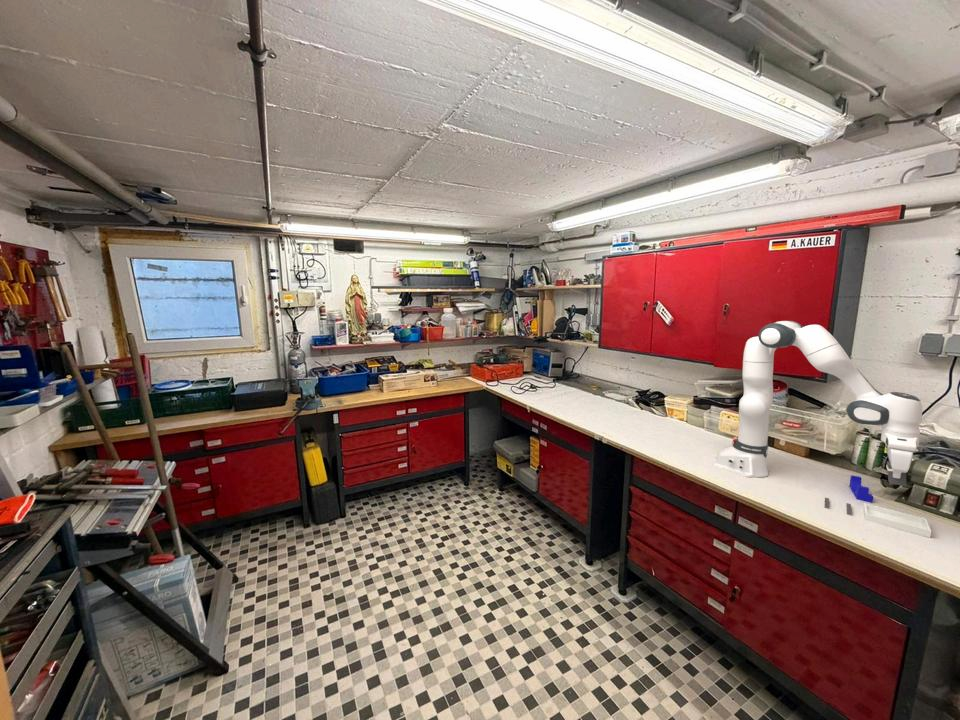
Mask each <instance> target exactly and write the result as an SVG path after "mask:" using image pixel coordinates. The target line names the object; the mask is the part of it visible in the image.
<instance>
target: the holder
mask: <svg viewBox="0 0 960 720" xmlns="http://www.w3.org/2000/svg"><path fill="white" fill-rule="evenodd" d="M824 508H825V509H827V510H829V509H830V498H829V497H824ZM845 510H846V515H847V516H852V512H853V511H852V505H851V503H848V502H847V503H846V505H845Z"/></svg>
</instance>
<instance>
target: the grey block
mask: <svg viewBox="0 0 960 720" xmlns="http://www.w3.org/2000/svg"><path fill="white" fill-rule="evenodd" d="M885 466H886V467H885V468H886V469H887V470H886V471H887V480H888V482H889V483H888V484H889V485H898V486H908V485H907V475H906V473H907V472H902V473H901V477H900V478H899V479H898V478H894V477H893V476H892V474H893V470H892V467H891V464H890V460H889V461H886V465H885Z"/></svg>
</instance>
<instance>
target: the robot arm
mask: <svg viewBox="0 0 960 720" xmlns="http://www.w3.org/2000/svg"><path fill="white" fill-rule="evenodd" d="M790 346H794V347H797V348H798V349H799V350H800V351H801V352H802V354H803V355H804V357H805V358H806V359H807V361H808V362H809V363H810V364H811V366H813V367H814V368H815V369H816V370H817V371H819V372H822V373H826V374H829V375H832V376H834V377H836V378H838V379H839V380H840V381H841V382H842V383H843V384H844V385H845V386H846V388H848V390H849V391H850V392H851V393H852V395H853V396H854V398H855V400H853V401H851V402H849V404H848V405H847V406H846V410H845V411H846V414H847V416H848V418H849V419H850V420H851V421H853V422H854V423H857V424H861V425H869V426H871V425H872V426H882V427H881V433H880V434H881V435H880V441H882V442H883V443H884V444H885V446H886V449H887V450H886V454H887V457H888V460H889V462H890V464H891V467H892V470H893V474H892V476H893V477H894V478H898V479H899V478H900V477H901V473H902V472H906V473H908V471H909V470H910V469H911V468H910V467H911V464H912V460H913V456H914V452H917V448H918V447H919V442H920V436H921V431H920V425H921V422H922V417H923V405H922V404H923V403H922V401H921V400H920V398H919V397H917V396H915V395H912V394H909V393H906V392H900V391H899V392H898V391H891V392H888V393H886V394H885V393H884V394H883V393H881V392H880V391H879V390H877V389H876V388H875V387H874V386H873V385H872V383H870V382H869V380H868V379H867V378H866V377H865V376H864V375H863V373H862V372H861V371H860V370H859V369H858V367H857V366H856V365H855V364H854V362H853V360H851V359H850V357H849V356H848V354H847V353H846V351H845V350H844V347H842V345H841V344H840V343H839V341H837V339H836V338H835V337H834V336H833V335H832V334H831V333H830V332H829V331H828V330H827V329H826V328H825V327H824V326H822V325H820V324H809V325H805V326H802V325H801V324H800V323H799V322H796V321H793V320H781V321H780V320H779V321H776V322H772V323H768V324H767V325H765V326H763V327H761V329H760V330H759V331H758V335H757V336H753V337H750V338H749V339H747V341H746V342H745V345H744V349H743V356H742V358H743V359H742V374H741V375H742V377H741V378H742V383H743V396H742V397H741V398H740V399H739V403H738V423H739V424H738V425H739V426H738V434H737V436H738V437H737V436H734V437H733V438H732V443H731V444H732V445H731V446H728V447H724V448H722V449H721V450H719V452H718V454H717V456H715V457H713V458H712V459H711V462H710V463H711V465H712V466H713V467H716V468H720V469H722V470H724V471H728V472H729V473H732V474H735V475H739V476H742V477H744V478H764V477H765V478H766V477H768V476H769V469H768V463H767V457H768V455H769V444H768V439H769V429H770V427H769V426H770V425H769V424H770V423H769V422H770V410H771V407H772V405H773V403H774V402H773V401H774V382H773V378H774V377H773V376H774V375H773V374H774V361H775V360H774V356H775V351H776V350H777V349H780V348H787V347H790Z"/></svg>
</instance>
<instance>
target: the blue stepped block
mask: <svg viewBox="0 0 960 720" xmlns="http://www.w3.org/2000/svg"><path fill="white" fill-rule="evenodd" d="M862 480H863V478H862V476H857V475H852V474H850V479H849V486H848V488H850V491H851V492H852V494H853V495H854V497H855V499H856V500H858V501H862V502H866V503H869V504H870V503H871V504H872V503H873V501H874V496H873V494H872V493H869V492H870V488H869V487H867V486H864V485H863V486H862Z"/></svg>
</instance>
